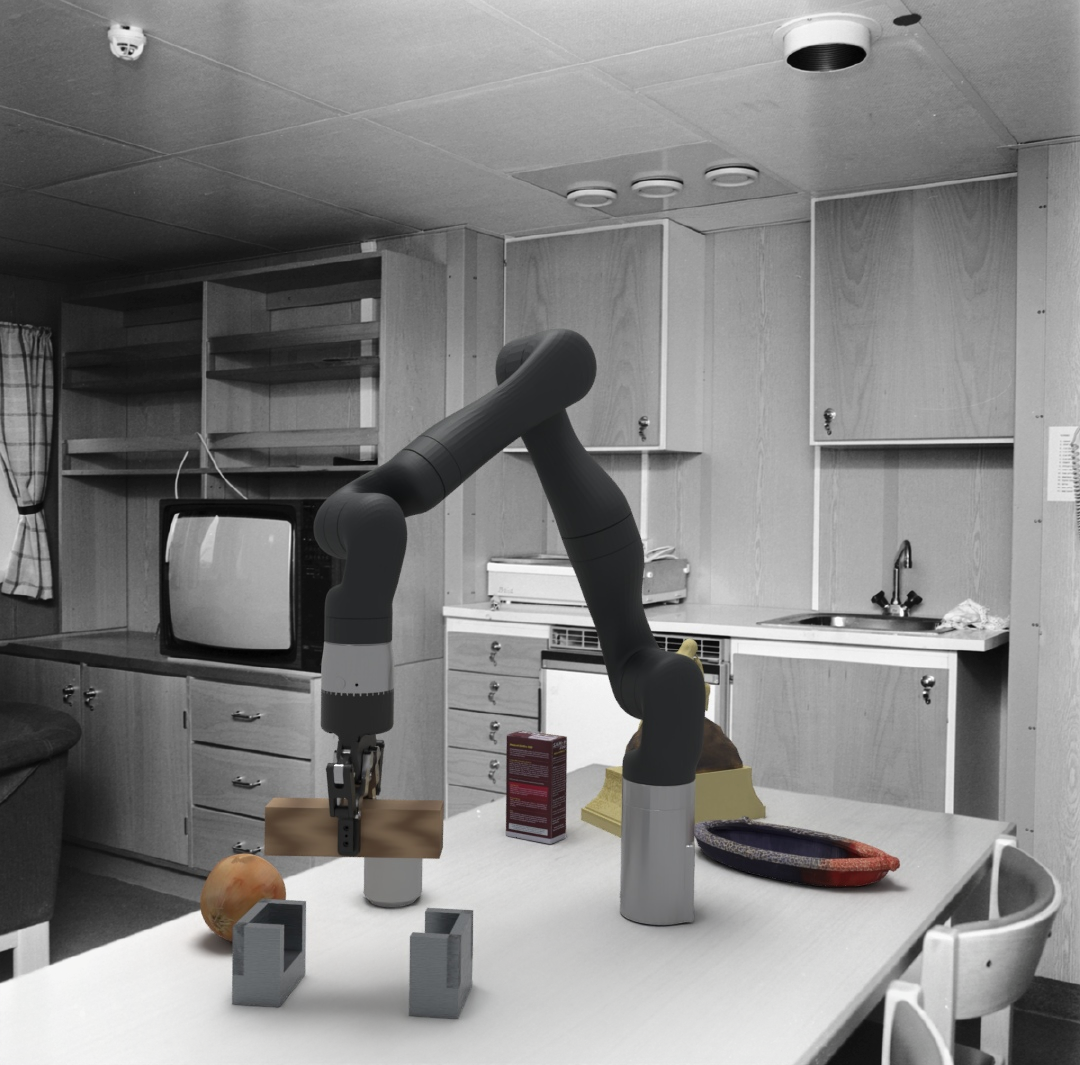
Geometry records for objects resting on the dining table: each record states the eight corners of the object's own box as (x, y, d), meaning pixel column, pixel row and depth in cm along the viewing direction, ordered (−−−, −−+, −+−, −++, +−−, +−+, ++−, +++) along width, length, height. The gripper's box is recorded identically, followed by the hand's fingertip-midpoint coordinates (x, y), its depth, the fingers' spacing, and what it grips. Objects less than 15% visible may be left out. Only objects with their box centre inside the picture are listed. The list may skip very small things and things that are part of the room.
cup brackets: (472, 984, 124) (473, 910, 124) (458, 1018, 116) (459, 939, 115) (260, 971, 127) (261, 898, 126) (232, 1004, 118) (232, 926, 118)
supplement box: (567, 838, 179) (569, 735, 179) (550, 845, 175) (552, 740, 175) (520, 829, 184) (522, 729, 183) (503, 836, 180) (505, 734, 179)
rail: (443, 847, 123) (443, 800, 123) (439, 858, 119) (440, 810, 119) (273, 844, 123) (274, 797, 123) (264, 855, 119) (264, 807, 119)
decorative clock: (716, 800, 204) (719, 630, 203) (765, 818, 193) (768, 638, 192) (581, 820, 190) (583, 637, 189) (625, 840, 179) (628, 646, 178)
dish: (722, 838, 181) (722, 806, 181) (915, 880, 162) (916, 844, 162) (669, 861, 169) (669, 827, 169) (872, 909, 150) (872, 871, 150)
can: (411, 911, 146) (412, 817, 146) (355, 906, 147) (356, 813, 147) (429, 892, 153) (430, 802, 153) (375, 887, 155) (376, 798, 154)
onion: (299, 927, 140) (300, 845, 140) (263, 959, 130) (264, 870, 130) (225, 920, 142) (226, 839, 142) (184, 951, 132) (184, 864, 132)
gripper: (375, 697, 113) (372, 871, 113) (408, 676, 127) (406, 831, 128) (300, 694, 114) (298, 867, 114) (342, 673, 128) (340, 827, 128)
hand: (355, 847), depth 121 cm, fingers closed on rail, 4 cm apart
